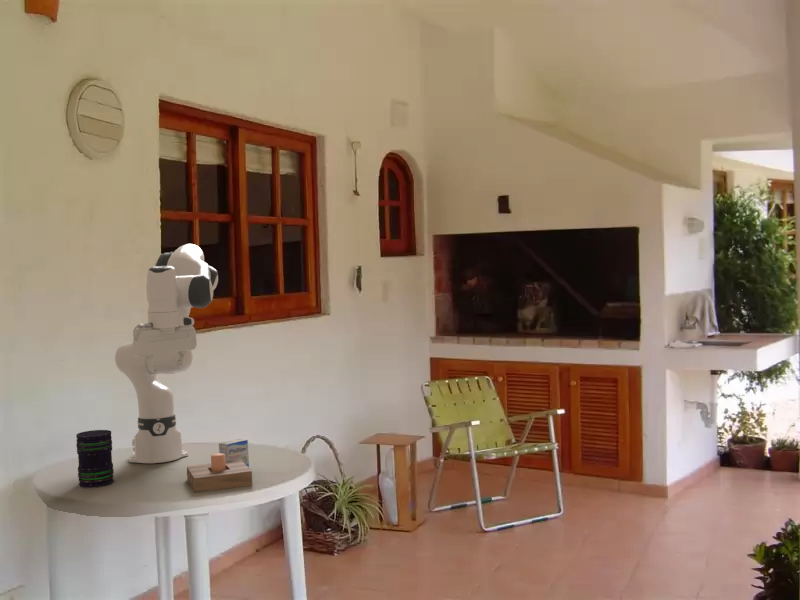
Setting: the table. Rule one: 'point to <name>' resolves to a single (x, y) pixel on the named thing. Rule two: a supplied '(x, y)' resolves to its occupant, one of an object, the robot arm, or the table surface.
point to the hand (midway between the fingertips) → (166, 368)
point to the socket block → (219, 476)
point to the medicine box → (235, 450)
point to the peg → (218, 462)
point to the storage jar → (95, 458)
